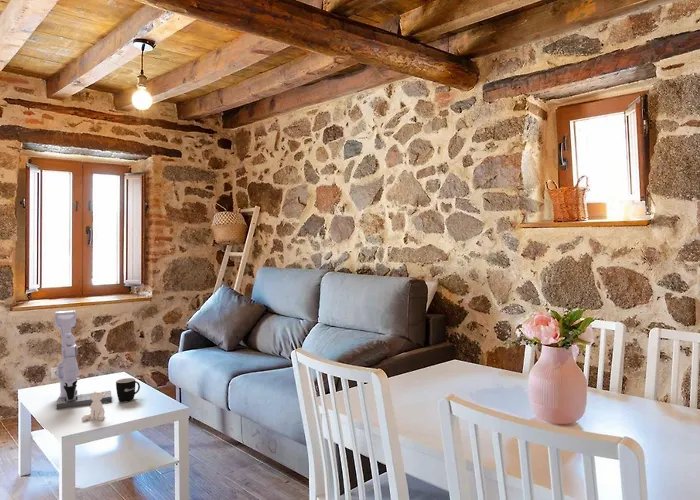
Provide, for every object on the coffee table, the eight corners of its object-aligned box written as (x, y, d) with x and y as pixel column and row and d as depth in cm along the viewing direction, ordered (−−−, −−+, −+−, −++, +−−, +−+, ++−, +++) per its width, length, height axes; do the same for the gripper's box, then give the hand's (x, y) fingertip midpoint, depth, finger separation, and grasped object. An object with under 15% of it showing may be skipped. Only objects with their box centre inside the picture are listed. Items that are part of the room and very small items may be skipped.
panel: (58, 402, 263) (58, 397, 263) (111, 395, 273) (110, 390, 273) (56, 409, 252) (56, 403, 252) (111, 401, 262) (111, 396, 262)
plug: (67, 403, 261) (66, 389, 261) (77, 402, 263) (77, 388, 263) (66, 405, 257) (66, 391, 257) (77, 404, 259) (76, 390, 259)
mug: (122, 404, 257) (122, 383, 257) (112, 401, 263) (112, 381, 263) (145, 398, 267) (144, 378, 267) (135, 395, 272) (134, 375, 272)
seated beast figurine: (80, 421, 233) (79, 394, 233) (90, 415, 242) (89, 389, 242) (102, 421, 233) (101, 394, 233) (110, 414, 242) (110, 388, 242)
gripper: (78, 372, 255) (79, 400, 255) (79, 366, 268) (80, 392, 268) (62, 374, 252) (63, 402, 252) (63, 367, 265) (64, 394, 265)
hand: (71, 397), depth 260 cm, fingers open, 7 cm apart
